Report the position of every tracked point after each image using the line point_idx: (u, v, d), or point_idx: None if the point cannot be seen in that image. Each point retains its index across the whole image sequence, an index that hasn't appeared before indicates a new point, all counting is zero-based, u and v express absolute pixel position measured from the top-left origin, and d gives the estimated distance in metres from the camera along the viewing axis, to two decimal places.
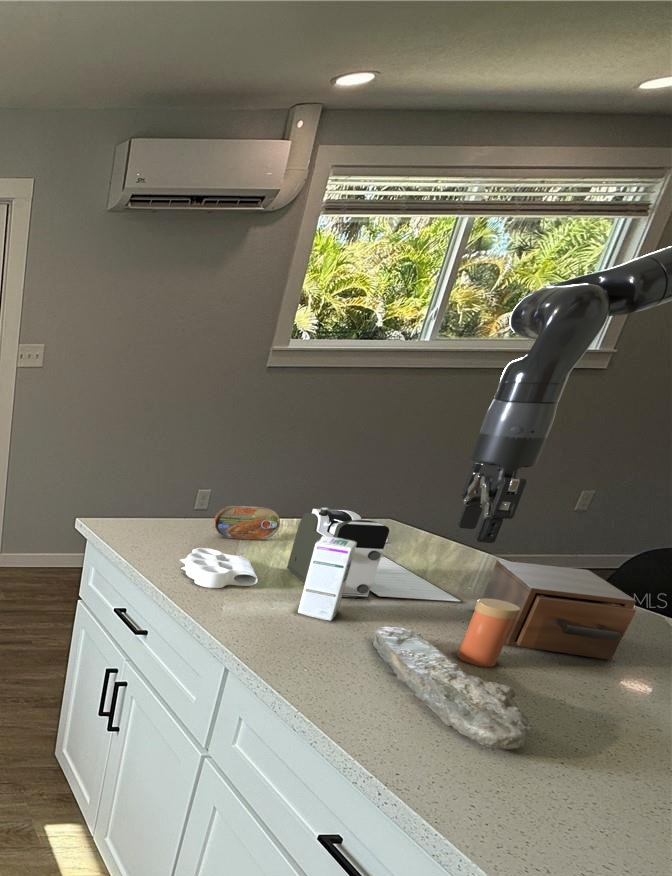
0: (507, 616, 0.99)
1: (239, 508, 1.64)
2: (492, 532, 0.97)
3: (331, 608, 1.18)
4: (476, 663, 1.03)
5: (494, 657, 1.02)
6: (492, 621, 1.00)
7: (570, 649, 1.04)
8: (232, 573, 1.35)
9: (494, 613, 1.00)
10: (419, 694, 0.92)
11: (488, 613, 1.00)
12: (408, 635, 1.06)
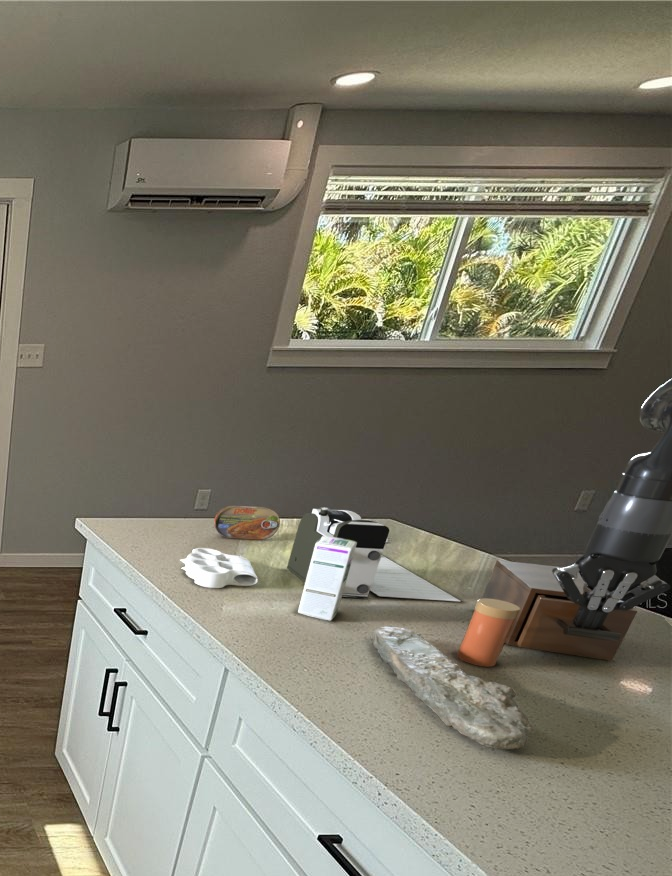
0: (507, 616, 0.99)
1: (239, 508, 1.64)
2: (577, 618, 1.00)
3: (331, 608, 1.18)
4: (476, 663, 1.03)
5: (494, 657, 1.02)
6: (492, 621, 1.00)
7: (571, 650, 1.04)
8: (232, 573, 1.35)
9: (494, 613, 1.00)
10: (419, 694, 0.92)
11: (488, 613, 1.00)
12: (408, 635, 1.06)
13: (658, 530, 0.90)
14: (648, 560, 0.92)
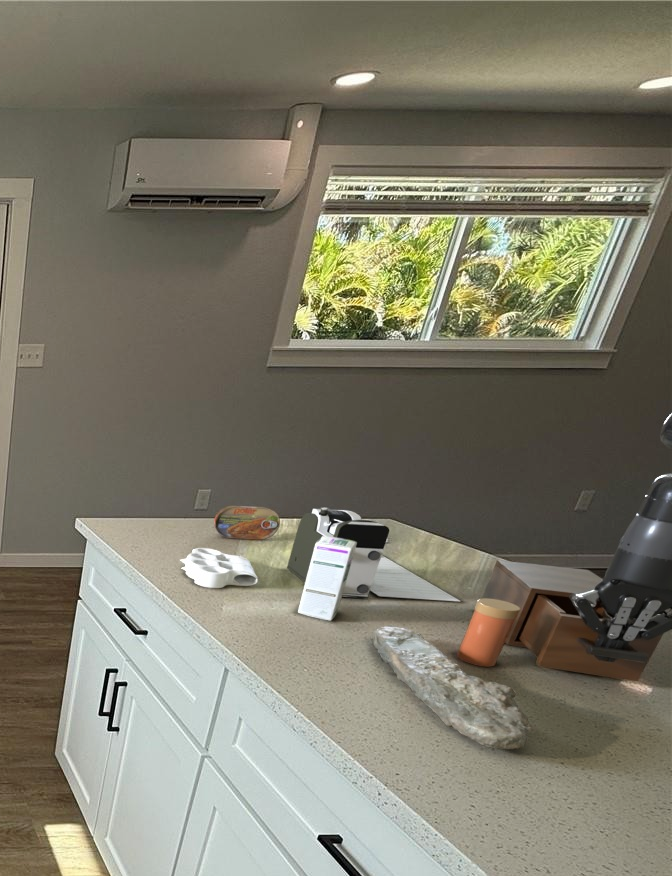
0: (507, 616, 0.99)
1: (239, 508, 1.64)
2: None
3: (331, 608, 1.18)
4: (476, 663, 1.03)
5: (494, 657, 1.02)
6: (492, 621, 1.00)
7: (593, 670, 0.98)
8: (232, 573, 1.35)
9: (494, 613, 1.00)
10: (419, 694, 0.92)
11: (488, 613, 1.00)
12: (408, 635, 1.06)
13: None
14: None
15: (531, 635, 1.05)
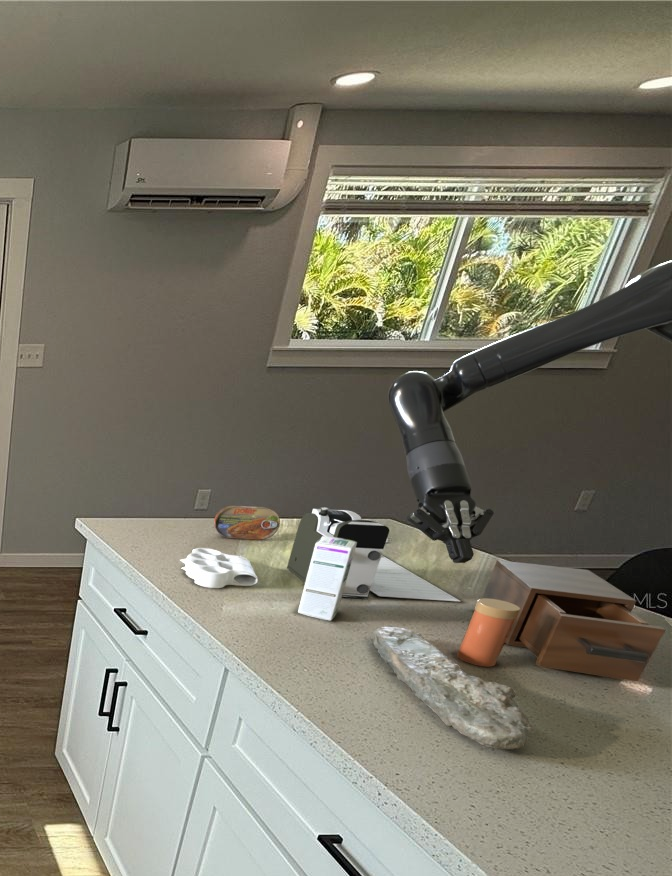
0: (507, 616, 0.99)
1: (239, 508, 1.64)
2: (452, 550, 1.08)
3: (331, 608, 1.18)
4: (476, 663, 1.03)
5: (494, 657, 1.02)
6: (492, 621, 1.00)
7: (593, 670, 0.98)
8: (232, 573, 1.35)
9: (494, 613, 1.00)
10: (419, 694, 0.92)
11: (488, 613, 1.00)
12: (408, 635, 1.06)
13: (457, 460, 1.10)
14: (467, 483, 1.09)
15: (531, 635, 1.05)
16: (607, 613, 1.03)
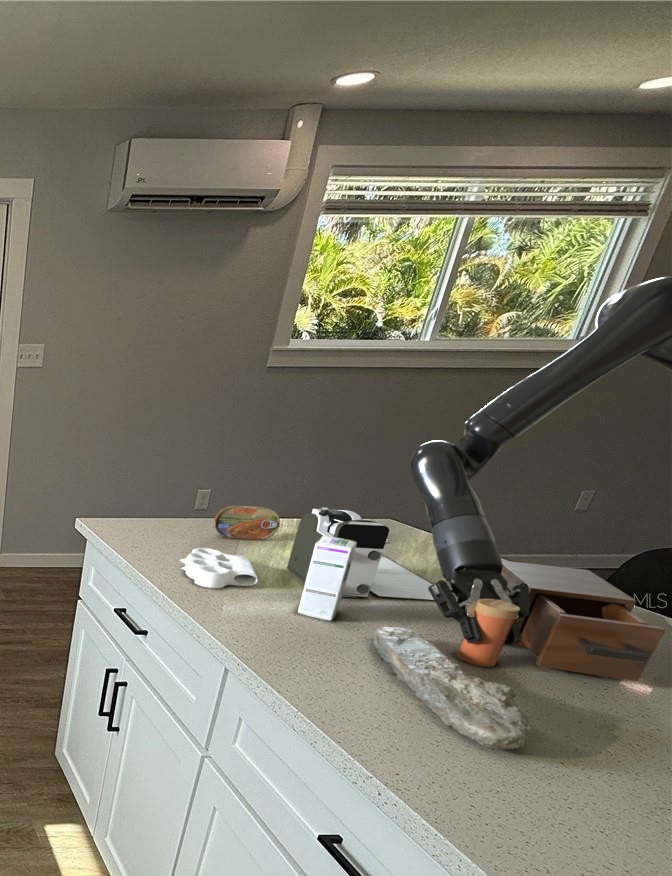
0: (507, 616, 0.99)
1: (239, 508, 1.64)
2: (466, 630, 1.02)
3: (331, 608, 1.18)
4: (476, 663, 1.03)
5: (494, 657, 1.02)
6: (492, 621, 1.00)
7: (593, 670, 0.98)
8: (232, 573, 1.35)
9: (494, 613, 1.00)
10: (419, 694, 0.92)
11: (488, 613, 1.00)
12: (409, 635, 1.06)
13: (487, 536, 1.04)
14: (498, 562, 1.03)
15: (531, 635, 1.05)
16: (607, 613, 1.03)
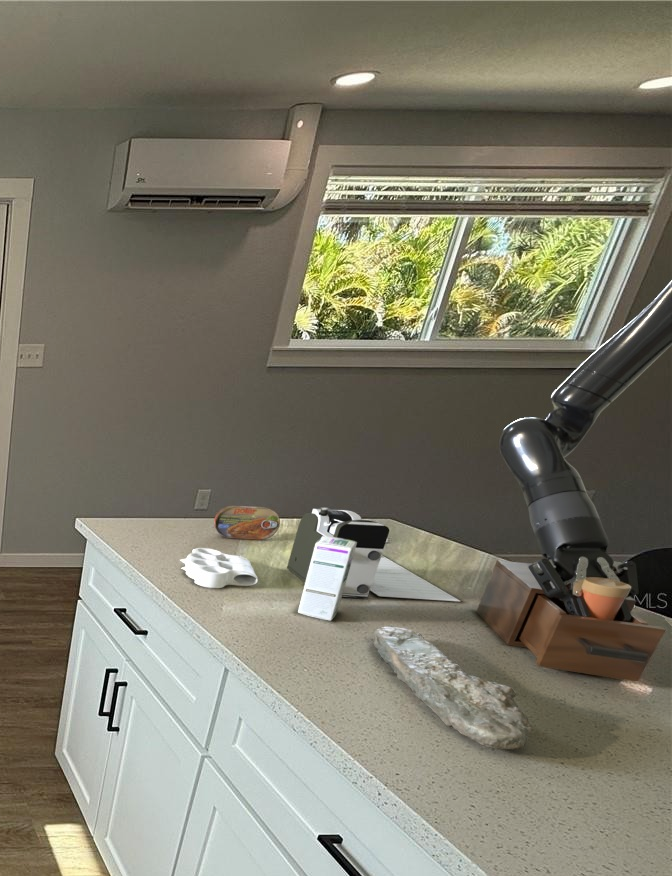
0: (618, 594, 0.96)
1: (239, 508, 1.64)
2: (572, 610, 0.99)
3: (331, 608, 1.18)
4: None
5: None
6: (602, 599, 0.97)
7: (594, 670, 0.98)
8: (232, 573, 1.35)
9: (604, 591, 0.96)
10: (419, 694, 0.92)
11: (597, 591, 0.97)
12: (409, 635, 1.06)
13: (592, 513, 1.01)
14: (605, 539, 0.99)
15: (531, 636, 1.05)
16: None
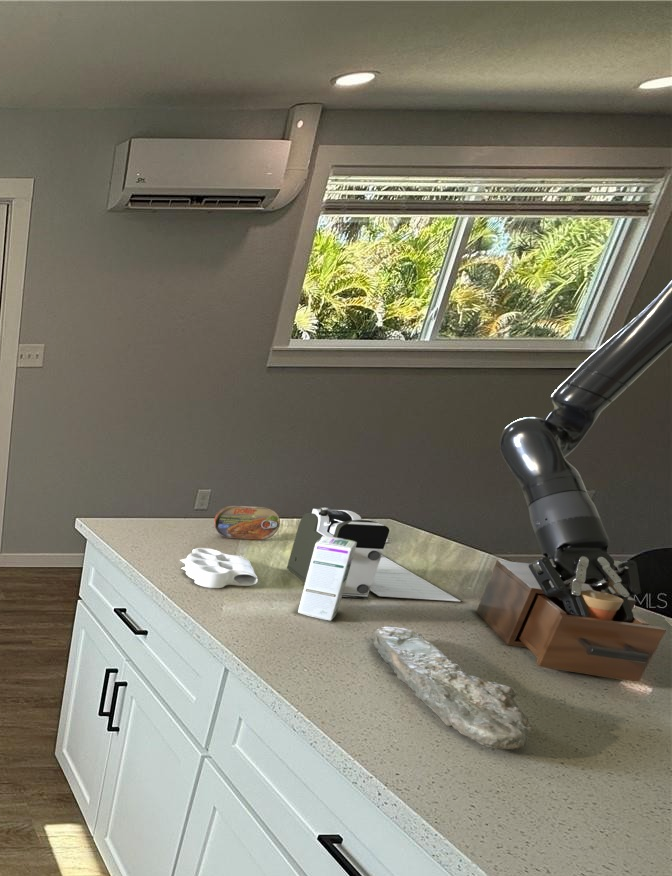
0: (611, 607, 0.97)
1: (239, 508, 1.64)
2: (571, 609, 0.99)
3: (331, 608, 1.18)
4: None
5: None
6: (594, 612, 0.98)
7: (594, 670, 0.98)
8: (232, 573, 1.35)
9: (597, 604, 0.97)
10: (419, 694, 0.92)
11: (590, 604, 0.98)
12: (409, 635, 1.06)
13: (592, 513, 1.01)
14: (605, 539, 0.99)
15: (532, 636, 1.05)
16: None
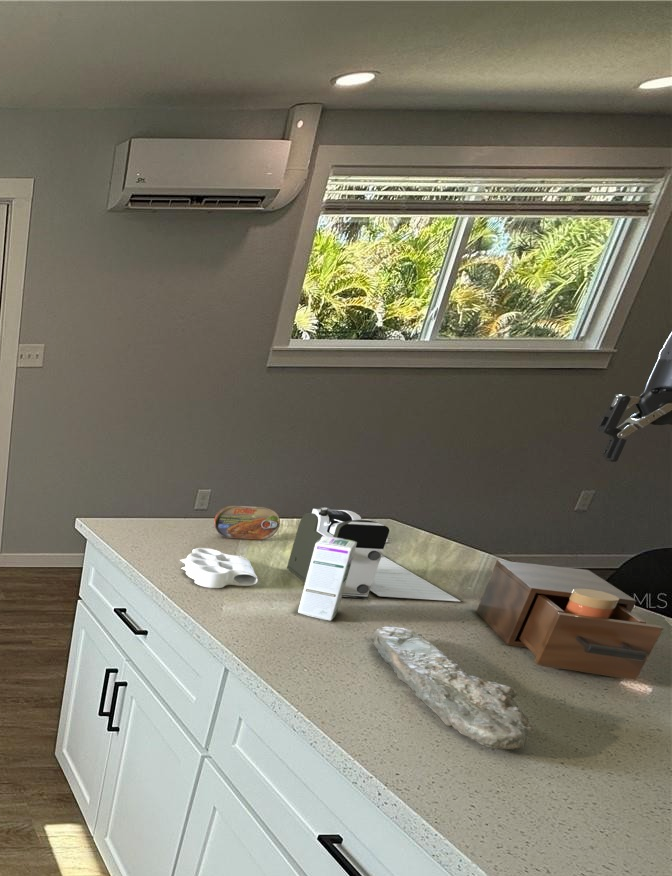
0: (606, 606, 0.97)
1: (239, 508, 1.64)
2: (607, 449, 1.05)
3: (331, 608, 1.18)
4: None
5: None
6: (590, 611, 0.98)
7: (592, 668, 0.98)
8: (232, 573, 1.35)
9: (592, 603, 0.98)
10: (419, 694, 0.92)
11: (585, 603, 0.99)
12: (409, 635, 1.06)
13: None
14: None
15: (530, 634, 1.06)
16: None
